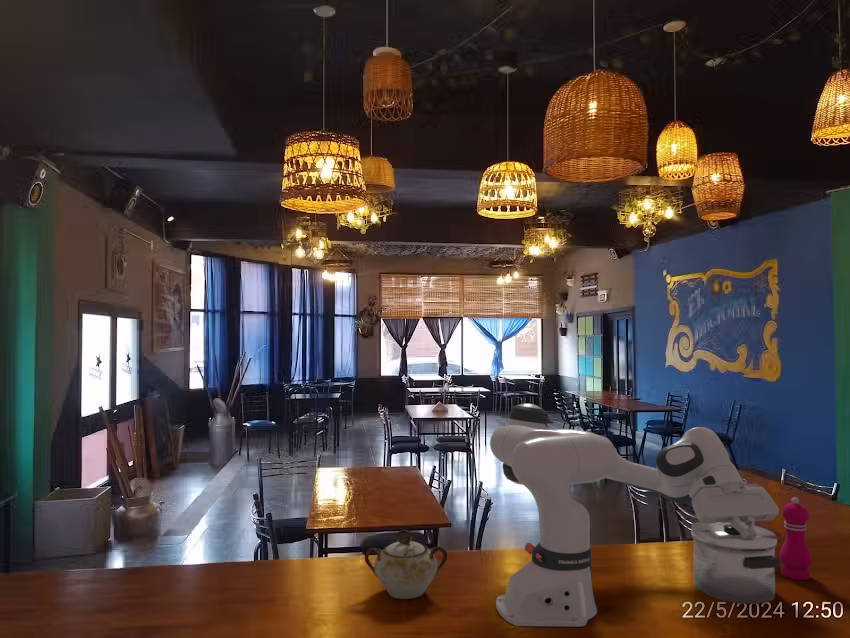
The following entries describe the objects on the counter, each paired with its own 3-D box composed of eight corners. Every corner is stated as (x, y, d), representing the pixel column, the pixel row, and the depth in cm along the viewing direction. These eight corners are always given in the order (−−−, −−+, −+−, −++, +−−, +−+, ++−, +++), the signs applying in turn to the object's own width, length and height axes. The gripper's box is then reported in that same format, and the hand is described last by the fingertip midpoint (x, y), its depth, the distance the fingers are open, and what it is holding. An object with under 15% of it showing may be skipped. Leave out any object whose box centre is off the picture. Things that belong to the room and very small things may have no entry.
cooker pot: (729, 611, 146) (729, 557, 147) (676, 574, 168) (676, 528, 168) (800, 605, 150) (800, 552, 150) (739, 570, 171) (739, 524, 171)
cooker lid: (722, 553, 148) (722, 541, 148) (675, 528, 167) (675, 517, 167) (796, 548, 152) (796, 537, 152) (742, 524, 170) (742, 514, 170)
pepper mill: (816, 582, 163) (816, 502, 163) (784, 579, 165) (784, 500, 165) (805, 571, 170) (805, 494, 170) (775, 569, 172) (775, 493, 172)
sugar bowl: (361, 605, 149) (361, 539, 149) (367, 579, 164) (367, 519, 164) (447, 606, 149) (447, 540, 149) (446, 580, 164) (446, 520, 164)
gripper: (755, 490, 167) (782, 541, 157) (682, 493, 163) (705, 545, 154) (767, 476, 163) (796, 528, 153) (692, 479, 159) (717, 532, 149)
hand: (750, 537), depth 153 cm, fingers closed
